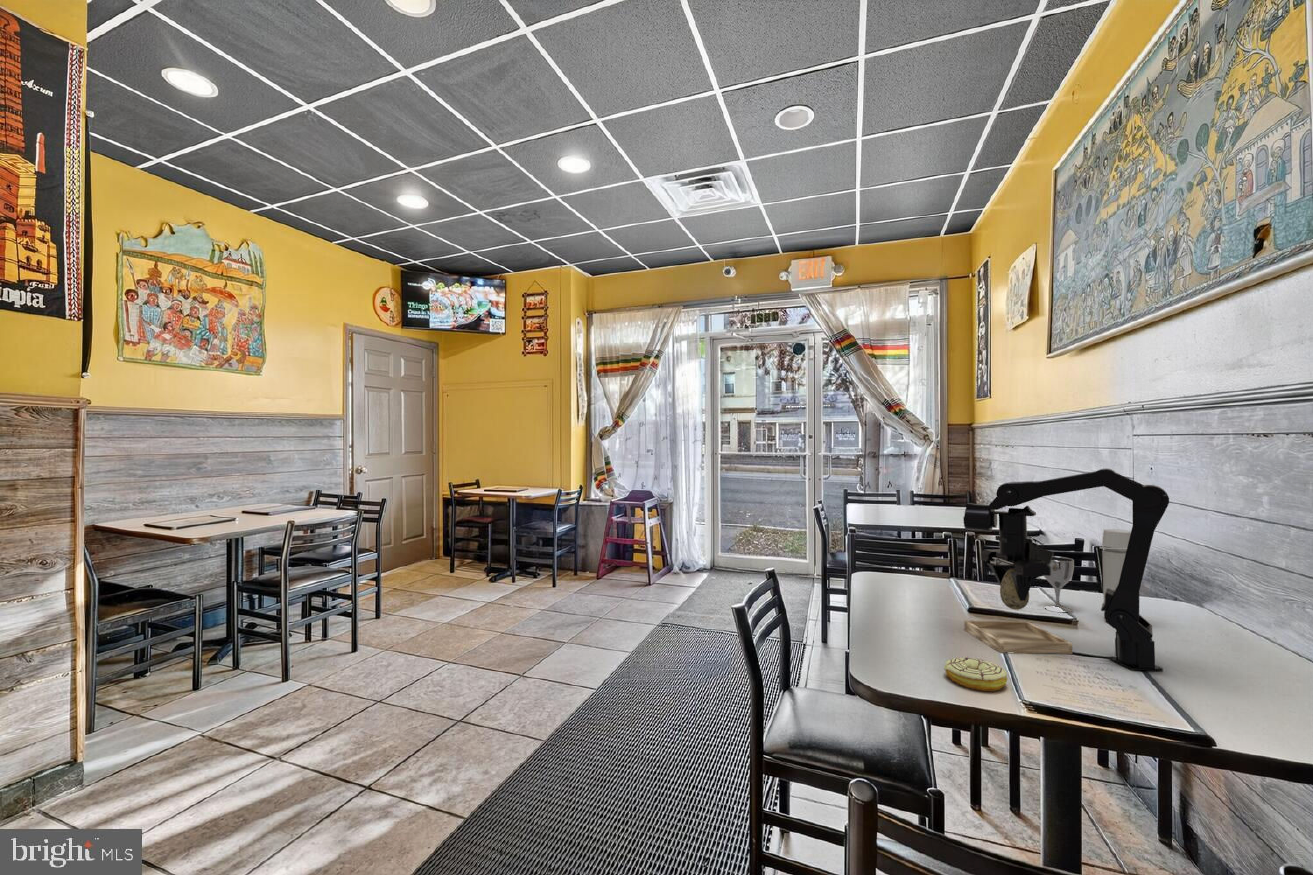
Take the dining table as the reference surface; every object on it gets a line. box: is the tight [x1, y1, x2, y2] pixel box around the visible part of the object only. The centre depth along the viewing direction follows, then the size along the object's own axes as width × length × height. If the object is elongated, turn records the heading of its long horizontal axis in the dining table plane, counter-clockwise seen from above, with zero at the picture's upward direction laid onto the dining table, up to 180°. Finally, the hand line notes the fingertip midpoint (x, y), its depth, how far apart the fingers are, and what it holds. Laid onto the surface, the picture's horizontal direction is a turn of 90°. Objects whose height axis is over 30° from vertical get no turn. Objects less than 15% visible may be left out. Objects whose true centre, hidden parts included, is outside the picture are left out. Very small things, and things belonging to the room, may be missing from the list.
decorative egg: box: [999, 568, 1030, 611], centre depth 132 cm, size 6×6×10 cm
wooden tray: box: [963, 620, 1073, 655], centre depth 131 cm, size 16×16×2 cm
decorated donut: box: [943, 657, 1008, 692], centre depth 109 cm, size 10×11×4 cm
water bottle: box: [1099, 528, 1131, 620], centre depth 146 cm, size 9×8×25 cm
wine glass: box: [1043, 555, 1075, 614], centre depth 158 cm, size 8×8×15 cm
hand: (1014, 596), depth 132 cm, fingers closed on decorative egg, 6 cm apart
